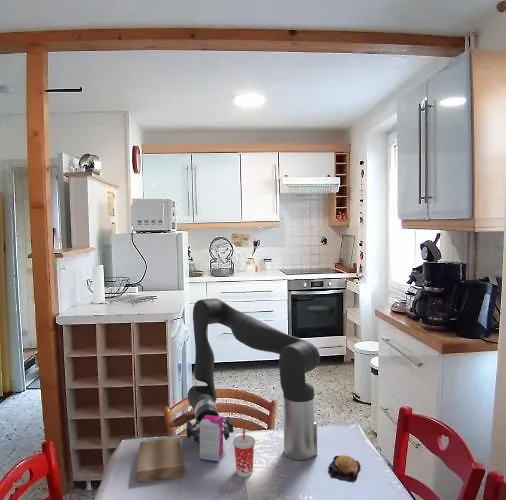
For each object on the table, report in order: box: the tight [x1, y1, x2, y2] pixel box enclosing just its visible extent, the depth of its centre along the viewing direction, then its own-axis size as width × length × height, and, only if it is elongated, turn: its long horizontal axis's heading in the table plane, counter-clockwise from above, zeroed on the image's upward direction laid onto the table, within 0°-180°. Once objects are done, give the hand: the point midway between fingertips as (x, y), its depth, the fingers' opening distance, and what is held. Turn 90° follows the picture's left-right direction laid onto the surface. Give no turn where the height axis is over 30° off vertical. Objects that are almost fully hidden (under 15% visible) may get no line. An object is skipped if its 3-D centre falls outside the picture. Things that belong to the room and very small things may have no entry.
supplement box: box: [199, 415, 224, 463], centre depth 124 cm, size 6×6×12 cm
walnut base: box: [136, 437, 183, 483], centre depth 121 cm, size 12×16×3 cm
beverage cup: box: [232, 422, 256, 478], centre depth 115 cm, size 6×6×14 cm
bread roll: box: [327, 454, 361, 483], centre depth 116 cm, size 11×8×4 cm
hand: (212, 438), depth 122 cm, fingers open, 8 cm apart
